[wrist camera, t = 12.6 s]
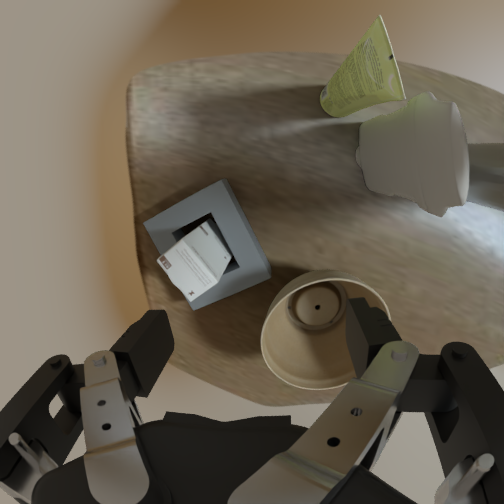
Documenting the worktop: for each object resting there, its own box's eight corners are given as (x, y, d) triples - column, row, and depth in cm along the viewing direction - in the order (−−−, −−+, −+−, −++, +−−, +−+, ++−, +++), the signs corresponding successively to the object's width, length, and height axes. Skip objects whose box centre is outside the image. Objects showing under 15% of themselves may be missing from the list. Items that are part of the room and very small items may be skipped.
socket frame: (226, 178, 38) (221, 179, 34) (271, 267, 41) (271, 277, 37) (154, 217, 40) (143, 223, 36) (199, 298, 43) (193, 310, 40)
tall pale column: (385, 193, 37) (484, 225, 16) (358, 195, 37) (446, 229, 16) (377, 119, 34) (472, 84, 13) (349, 119, 35) (430, 77, 14)
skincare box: (236, 250, 41) (222, 283, 29) (212, 267, 42) (191, 305, 30) (209, 215, 40) (184, 236, 28) (185, 234, 41) (154, 261, 29)
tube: (364, 104, 34) (434, 62, 15) (343, 128, 35) (405, 99, 16) (332, 77, 33) (379, 14, 14) (311, 102, 34) (346, 47, 16)
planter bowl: (382, 267, 40) (412, 298, 30) (341, 353, 45) (355, 397, 35) (282, 235, 40) (287, 260, 30) (250, 331, 45) (244, 375, 34)
